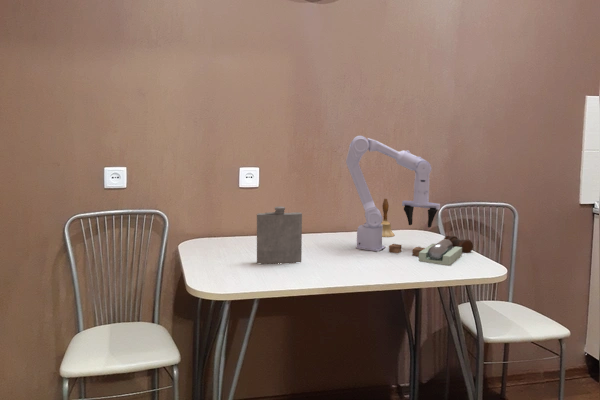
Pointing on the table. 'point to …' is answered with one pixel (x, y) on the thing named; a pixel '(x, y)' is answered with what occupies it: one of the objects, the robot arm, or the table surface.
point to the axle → (440, 249)
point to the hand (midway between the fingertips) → (419, 226)
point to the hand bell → (386, 225)
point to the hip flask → (279, 237)
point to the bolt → (461, 243)
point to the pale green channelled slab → (444, 260)
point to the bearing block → (397, 248)
